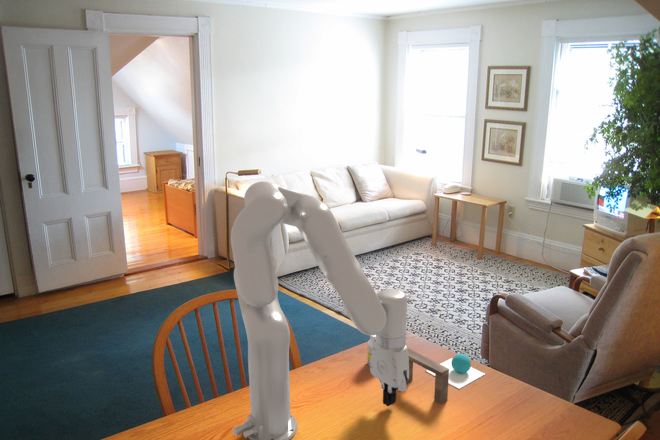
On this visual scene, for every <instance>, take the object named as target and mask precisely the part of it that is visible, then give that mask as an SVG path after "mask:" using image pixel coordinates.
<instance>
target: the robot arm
mask: <svg viewBox="0 0 660 440" xmlns="http://www.w3.org/2000/svg"><path fill="white" fill-rule="evenodd" d="M243 199H244V200H243V201H244V207H243V208H242V209H241V211H240V212H239V213H238V215H237V216H236V218H235V220H234V222H233V224H232V227H231V231H230V244H231V245H230V246H231V249H232V250H231V251H232V257H233V263H234V269H233V280H234V285H235V290H236V294H237V298H238V302H239V307H240V311H241V317H242V321H243V323H244V328H245V331H246V333H245V334H246V337H247V349H248V350H247V363H248V367H247V368H248V382H249V398H250V400H249V401H250V413H249V414H247V415H246V420H245V421H244V422H243V423H242V424H239V425H237V426H234V427H233V428H232V432H233V435H234V436H235V437H237V436H239V435H241V434H242V436H243V437H244V439H248V440H291V439H292V438H293V437H294V436H295V435H296V432H297V430H298V421H297V419H296V418H295V416H294V415H292V413H291V392H290V391H291V389H290V386H291V385H290V344H291V331H290V326H289V323H288V319H287V318H286V316H285V314H284V312H283V310H282V308H281V305H280V301H279V298H278V292H279V287H280V286H279V279H278V276H277V271H276V269H275V263H274V258H273V253H272V245H271V236H272V235H273V232H274V231H275V229H276V228H277V227H278V226H280V224H285V225H288V226H292V227H296V228H297V229H298V231H299V233H300V235H301V236H302V239H303V240H304V242H305V243H306V246H307V247H308V249H309V251H310V253H311V255H312V257H313V259H314V260H315V262H316V263H317V266H318V267H319V269H320V271H321V273H322V274H323V276H324V277H325V279H326V281H327V282H328V283H329V284H330V286H332V288H333V289H334V290H335V291H336V294H337V295H338V296H339V297H340V299H341V301H342V307H343V310H344V312H345V314H346V315H347V316H348V317H347V318H349V319H350V321H351V322H352V323H353V325H354V326H355V327H356V328H357V330H358V331H359V332H360V333H362V334H363V335H365V336H370V335H376V339H374V342H373V346H372V351H371V360H370V366H369V370H370V374H371V375H372V376H373V377H374V378H376V379H377V380H379V382H380V387H381V389H382V404H383V405H385V406H387V407H389V406H391V405H393V404H396V402H397V391H400V392H405V391H407V389H408V388H407V387H408V386H407V384H408V383H409V382H408V380H409V357H408V350H407V349H408V346H407V321H408V320H407V318H408V317H407V316H408V313H407V312H408V297H407V294H406V293H405V292H403V291H402V290H399V289H396V288H395V289H394V288H389V289H388V288H387V289H383V290H375V289H374V287H373V286H372V284H371V282H370V280H369V279H368V277H367V276H366V273H365V272H364V270H363V268H362V266H361V264H360V263H359V261H358V259H357V257H356V256H355V254H354V252H353V251H352V248H351V247H350V244H349V243H348V241H347V239H346V237H345V235H344V233H343V232H342V230H341V227H340V225H339V224H338V221H337V220H336V217H335V215H334V214H333V212H332V211H331V209H330V208H329V206H328V205H326V204H325V203H324V202H322V201H321V200H320V199H318V198H317V197H315V196H314V195H309V194H306V193H304V192H299V191H297V190H294V189H291V188H288V187H284V186H281V185H278V184H275V183H273V182H268V181H257V182H254V183H253V184H251V185H250V186H249V187H248V188H247V190H246V191H245V193H244V197H243ZM407 382H408V383H407Z"/></svg>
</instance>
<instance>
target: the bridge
mask: <svg viewBox="0 0 660 440" xmlns="http://www.w3.org/2000/svg"><path fill="white" fill-rule="evenodd" d="M407 350H408V357H409V380H408V382H407V383H406V384H408V383H410V382H412V381H413V374H414V364H416V365H418V366H419V367H422V368H423V369H426V371H427V370H429V371H431V372H433V373H435V376H434V396H433V397H434V398H433V401H434V402H436V404H439V405H442V404H443V403H445V402H446V401H448V394H449V384H448V379H449V369H448V368H446V367H444V366H442V365H440V364H441V363H438V362H437V361H434V360H432V359H430V358H428V357H427V356H425V355H422V354H420V353H418V352H416V351H415V350H413V349H410V348H408V347H407Z"/></svg>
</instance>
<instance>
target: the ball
mask: <svg viewBox="0 0 660 440" xmlns="http://www.w3.org/2000/svg"><path fill="white" fill-rule="evenodd" d="M452 358H453V359H452V362H451V364H452V367H453V369H454V370H455V371H456V372H458V373H466V372H467V371H468V370H469V369H470V367H472V366H471V365H472V361H471V359H470V357H469V356H467V355H466V354H464V353H457V354H455V355H454V356H453V357H452Z"/></svg>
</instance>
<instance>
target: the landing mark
mask: <svg viewBox="0 0 660 440" xmlns="http://www.w3.org/2000/svg"><path fill="white" fill-rule="evenodd" d="M452 359H453V357H451V358H449V359H446V360H445V361H443V362H441V363H439V364H440V365H442V366H444V367H446V368H448V369H449V379H448V385H450V386H452V387H454V388H456V389H458V390H461V389H462V388H464V387H466V386H467V385H469V384H471V383H472V382H474V381H476V380H477V379H480V378H481V377H484V376H485V375H486V373H484V372H482V371H480V370H478V369H477V368H474V367H472V366H471V367H470V369H469V370H468V371H467V372H466V373H458V372H456V371H455V370H454V369H453V367H452V364H451V362H452ZM425 372H426V373H427V374H430V375H431V376H433V377H435V373H433V372H431V371H429V370H427V369H426V370H425Z"/></svg>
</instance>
